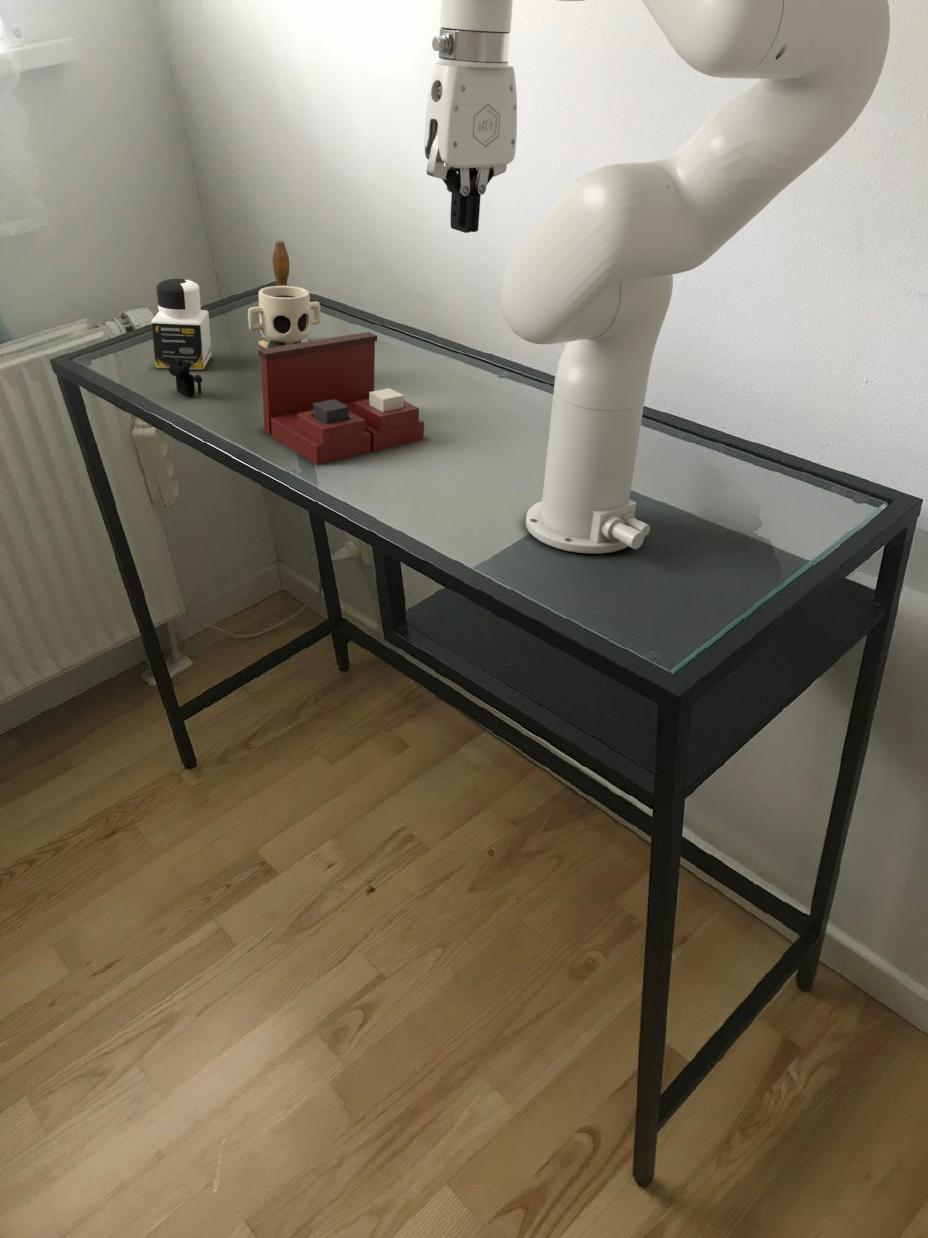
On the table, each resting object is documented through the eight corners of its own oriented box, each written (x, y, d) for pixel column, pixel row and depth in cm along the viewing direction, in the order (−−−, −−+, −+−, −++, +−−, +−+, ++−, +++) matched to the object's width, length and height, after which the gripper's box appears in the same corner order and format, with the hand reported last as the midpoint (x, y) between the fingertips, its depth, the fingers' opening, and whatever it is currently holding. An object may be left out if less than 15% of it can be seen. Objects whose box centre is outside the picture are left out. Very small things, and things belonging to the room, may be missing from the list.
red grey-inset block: (371, 452, 132) (371, 418, 130) (317, 465, 128) (316, 430, 125) (324, 424, 139) (323, 392, 137) (271, 436, 135) (270, 402, 133)
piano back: (376, 412, 144) (377, 335, 139) (269, 435, 135) (265, 353, 129) (368, 408, 146) (369, 331, 140) (261, 430, 136) (257, 349, 131)
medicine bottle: (155, 368, 155) (146, 286, 148) (165, 353, 161) (157, 274, 154) (203, 370, 155) (197, 288, 149) (211, 356, 161) (206, 276, 155)
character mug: (260, 393, 148) (256, 301, 141) (242, 378, 153) (238, 288, 146) (331, 384, 153) (330, 294, 146) (311, 369, 158) (309, 282, 152)
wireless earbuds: (206, 400, 145) (203, 364, 142) (191, 404, 143) (188, 368, 140) (175, 387, 148) (172, 352, 146) (160, 390, 147) (157, 355, 144)
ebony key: (348, 421, 130) (348, 406, 129) (327, 426, 128) (326, 411, 127) (334, 413, 132) (334, 398, 131) (313, 418, 130) (312, 403, 129)
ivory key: (403, 409, 134) (404, 395, 133) (383, 414, 133) (383, 399, 132) (389, 402, 136) (389, 387, 135) (369, 406, 135) (369, 391, 134)
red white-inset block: (424, 439, 137) (425, 406, 135) (373, 451, 132) (374, 417, 130) (376, 413, 144) (376, 381, 142) (326, 424, 140) (326, 391, 137)
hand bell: (300, 354, 164) (297, 249, 156) (250, 348, 166) (245, 243, 157) (317, 339, 171) (315, 238, 163) (269, 333, 173) (265, 233, 164)
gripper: (440, 51, 104) (432, 242, 114) (549, 53, 113) (533, 231, 122) (396, 45, 109) (392, 228, 119) (504, 48, 118) (492, 219, 127)
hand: (464, 229), depth 121 cm, fingers closed
